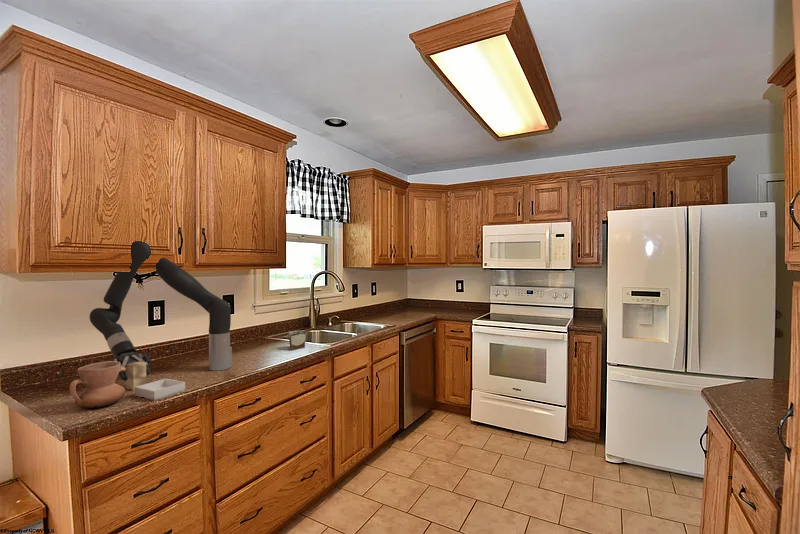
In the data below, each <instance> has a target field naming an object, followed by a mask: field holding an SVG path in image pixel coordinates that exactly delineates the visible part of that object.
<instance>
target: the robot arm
mask: <svg viewBox="0 0 800 534" xmlns="http://www.w3.org/2000/svg"><path fill="white" fill-rule="evenodd" d="M134 241H135V240H134ZM150 254H151V248H150V246H149V245H148V244H147V243H145V242H142V241H135V242H133V243H132V245H131V257H132V258H131V259H132V264H131V266H130V267H129V268H130V269H131V271H130V272H118V271H117V272H116V275H115V276H114V278H113V280H112V282H111V283H110V285H109V287H108V289H107V291H106V293H105V295H104V297H103V302H104V303H105V304H107V305H109V307H107V308H104V307H96V308H93V309H92V310H91V312H90V313H89V321H90V323H91V325H92V326H93V327H94V328H95V329H96V330H98V332H100V333H101V334H102V335H103V337H104V339H105V341H106V342H107V343H106V344H107V346H108V348H109V351H110V352H111V354H112V355H113V357H114V358H113V357H112V358H110V359H109V361H117V362H120V363H121V366H120V368H121V367H123V368H126V364H130V363H135V362H144V363H146V376H149V375H150V374H151V371H152V370H151V368H150V365H151V363H152V360H151V357H149V355H148V354H147V352H146V351H143V352H141V353H138V352H137V349H136V348H135V346H134V344H133V342H132V340H131V338H130V337H129V336H128V335H127V333H126V332H125V330H124V328H123V326H122V325H121V324H119V323H118V321H119V320H120V318H121V316H122V315H121V313H122V309H123V303H124V300H125V299H126V298H127V296H128V293H129V291H130V289H131V286H132V283H133V281H134V279H135V276H136V274H137V272H138V271H139V269H140V268H141V266H142V264H144V263H143V262H144V261H145V260H146V259H148V258H149V256H150ZM156 269H157V270H156V271H154V272H155V273H156V274H157V275H158V276H159V277H160V279H161V280H163V282H164V283H165V284H166V285H167V286H169V287H170V288H171V289H173V290H174V291H176V292H178V293H179V294H180V295H182V296H184V297H185V298H187V299H190V300H191V301H193V302H195V303H197V304H198V305H199V306H200V307H201V308H203V309H204V310H205V311H206V312H207V313H208V315H209V325H208V326H209V327H208V370H210V371H212V372H213V371H214V372H215V371H216V372H217V371H224V370H229V369H230V368H231V367H233V348H232V346H231V326H232V325H231V320H232V319H231V318H232V316H231V314H232V312H231V305H230V303H229V302H227V301H226V300H225V299H222V298H220V297H218V296H217V295H215V294H213V293H212V292H211V291H209V290H207V289H206V288H205V287H204V285H202V284H201V283H200V282H199V280H197V279H196V278H195V277H194V276H193V275H191V274H190V273H189V272H187V271H186V270H185V269H183V268H182V267H180V265H179V266H178V265H177V264H176V263H174V262H172V261H170V260H169V259H167V258H166V257H165V258H161V259H160V260H159V262H158V263H157V264H156ZM118 376H120V378H121V380H122V381H124V382H126V381H127V379H128V375H127V374H126V370H125V371H120V372H119V374H118Z"/></svg>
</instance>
